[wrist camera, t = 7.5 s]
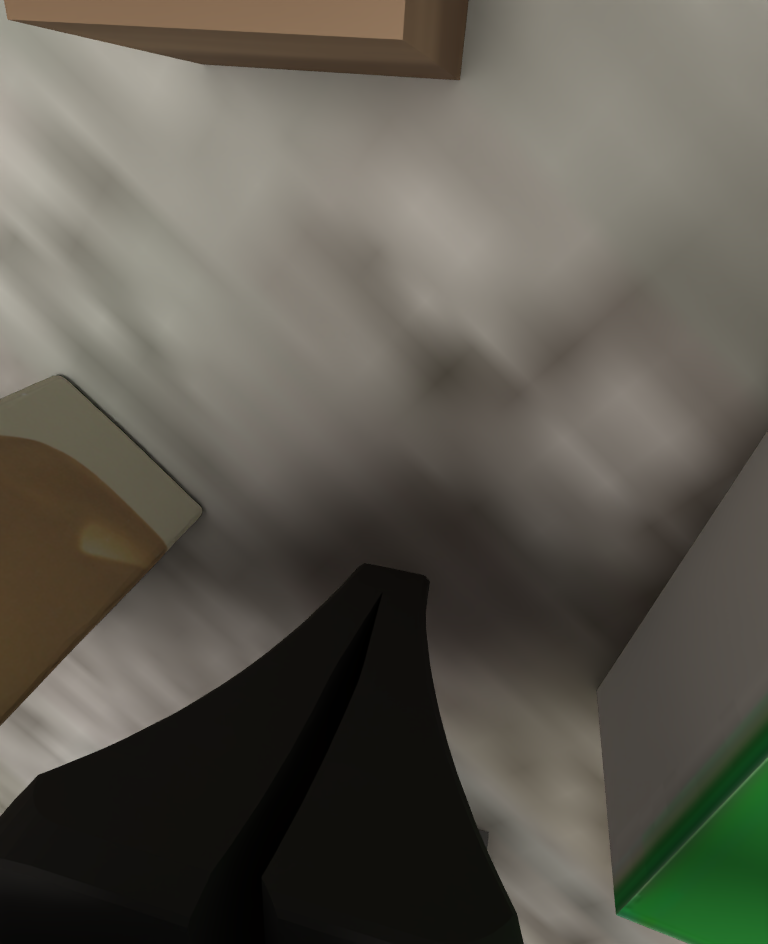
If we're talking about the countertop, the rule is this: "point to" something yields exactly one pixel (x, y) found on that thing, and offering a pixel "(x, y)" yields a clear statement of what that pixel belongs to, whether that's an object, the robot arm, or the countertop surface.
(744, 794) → the tray
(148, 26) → the walnut block
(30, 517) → the skincare box
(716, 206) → the countertop surface
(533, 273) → the countertop surface
